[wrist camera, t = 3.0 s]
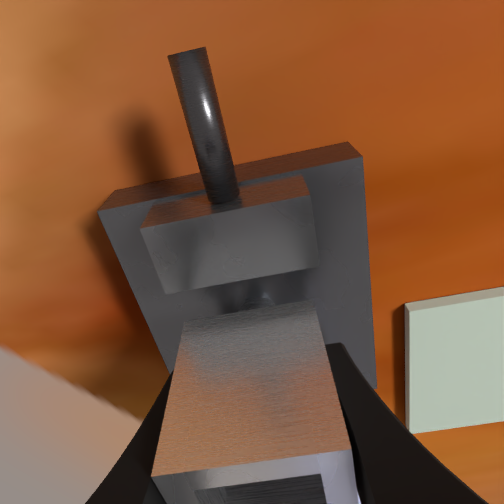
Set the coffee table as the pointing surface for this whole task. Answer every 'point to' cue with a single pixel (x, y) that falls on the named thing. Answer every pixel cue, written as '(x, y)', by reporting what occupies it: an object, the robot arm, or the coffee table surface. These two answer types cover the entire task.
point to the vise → (246, 232)
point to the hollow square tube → (254, 414)
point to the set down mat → (454, 361)
